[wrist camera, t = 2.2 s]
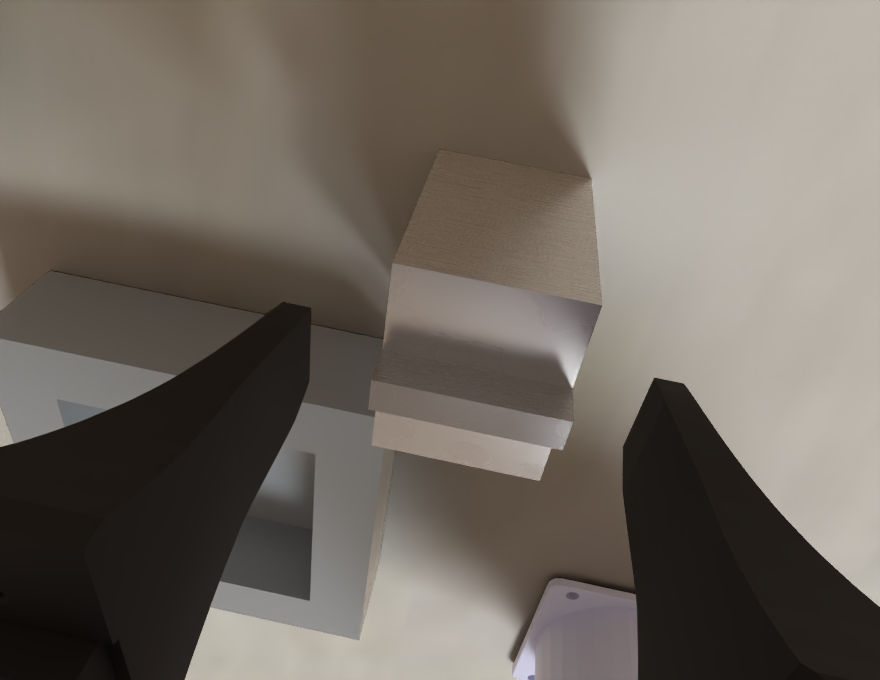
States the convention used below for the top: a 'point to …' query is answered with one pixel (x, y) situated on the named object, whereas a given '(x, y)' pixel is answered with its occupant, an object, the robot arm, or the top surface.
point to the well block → (290, 477)
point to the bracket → (488, 316)
